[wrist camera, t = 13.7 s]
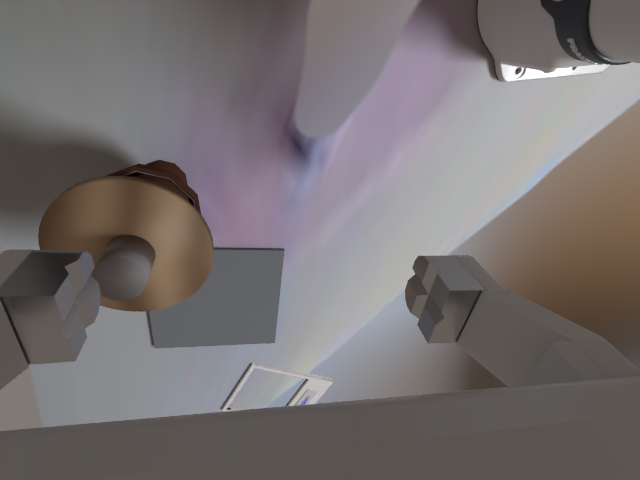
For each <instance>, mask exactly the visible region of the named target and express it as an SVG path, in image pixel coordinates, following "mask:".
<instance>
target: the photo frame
mask: <svg viewBox="0 0 640 480" xmlns="http://www.w3.org/2000/svg"><path fill="white" fill-rule="evenodd" d="M254 368H257V369H262V370H267V371H272V372H277V373H281V374H286V375H291V376H296V377H301V378H305V379H306V380H305V381H304V382H303V384H302V385H301V386H300V387H299V389H298V390H297V391H296V392H295V394H294V395H293V396H292V398H291V399H290V400H289V402H288V403H287V404H286V406H296V405H308V404H315V403H316V402H317V401H318V400H319V398H320V397H321V396H322V395H323V394H324V392H325V391H326V390H327V389H328V387H329V386H330V385H331V384H332V383H333V380H332V378H329V377H324V376H320V375H315V374H310V373H308V374H302V373H298V372H293V371H288V370H284V369H279V368H274V367H269V366H265V365H260V364H255V363H252V364H251V366H250V367H249V369H248V370H247V372H246V373H245V375H244V376H243V378H242V379H241V381H240V382H239V384H238V385H237V387H236V388H235V390H234V391H233V393H232V394H231V396H230V397H229V399H228V400H227V402H226V403H225V405H224V406H223V408H222V411H226V412H227V411H239V410H241V409H235V408H231V410H228V409H227V408H228V406H229V405H230V403H231V402H232V400H233V399H234V397H235V396H236V394H237V393H238V391H239V390H240V388H241V387H242V385H243V384H244V382H245V381H246V379H247V378H248V376H249V375H250V373H251V372H252V370H253V369H254Z"/></svg>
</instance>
